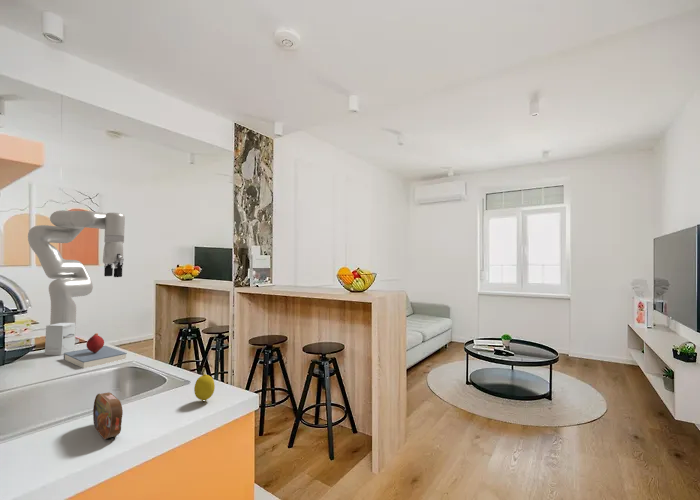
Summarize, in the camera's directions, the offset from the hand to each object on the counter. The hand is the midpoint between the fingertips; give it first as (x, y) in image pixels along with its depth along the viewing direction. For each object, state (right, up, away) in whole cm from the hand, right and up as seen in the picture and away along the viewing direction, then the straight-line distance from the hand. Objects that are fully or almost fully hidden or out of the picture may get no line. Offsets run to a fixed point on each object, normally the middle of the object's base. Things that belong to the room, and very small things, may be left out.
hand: (113, 276), depth 160 cm
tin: (+50, -32, -76) cm, 96 cm away
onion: (+4, -30, -17) cm, 35 cm away
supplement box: (-17, -33, -9) cm, 38 cm away
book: (+4, -33, -17) cm, 38 cm away
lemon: (+66, -33, -58) cm, 94 cm away
